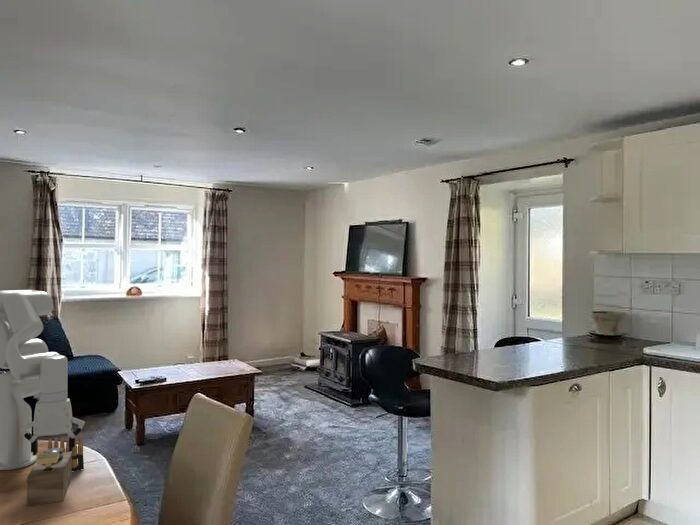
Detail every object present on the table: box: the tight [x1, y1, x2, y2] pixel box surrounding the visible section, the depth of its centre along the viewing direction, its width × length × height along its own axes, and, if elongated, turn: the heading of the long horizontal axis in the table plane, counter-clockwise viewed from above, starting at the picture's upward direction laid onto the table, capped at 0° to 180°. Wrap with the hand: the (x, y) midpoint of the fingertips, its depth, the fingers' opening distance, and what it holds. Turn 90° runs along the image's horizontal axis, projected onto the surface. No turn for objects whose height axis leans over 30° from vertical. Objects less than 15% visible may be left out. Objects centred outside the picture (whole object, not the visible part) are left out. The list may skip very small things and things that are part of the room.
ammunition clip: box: [47, 432, 85, 472], centre depth 171 cm, size 11×2×12 cm, turn 125°
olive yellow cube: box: [36, 451, 59, 471], centre depth 153 cm, size 5×5×5 cm
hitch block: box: [26, 451, 73, 507], centre depth 157 cm, size 18×9×8 cm, turn 21°
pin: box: [42, 447, 63, 461], centre depth 161 cm, size 5×5×10 cm
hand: (53, 452), depth 161 cm, fingers open, 9 cm apart
